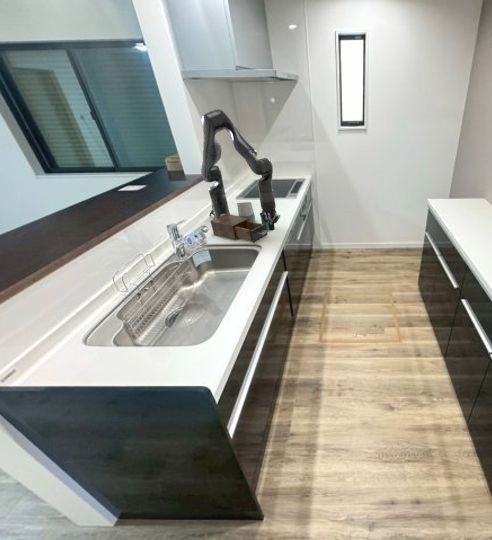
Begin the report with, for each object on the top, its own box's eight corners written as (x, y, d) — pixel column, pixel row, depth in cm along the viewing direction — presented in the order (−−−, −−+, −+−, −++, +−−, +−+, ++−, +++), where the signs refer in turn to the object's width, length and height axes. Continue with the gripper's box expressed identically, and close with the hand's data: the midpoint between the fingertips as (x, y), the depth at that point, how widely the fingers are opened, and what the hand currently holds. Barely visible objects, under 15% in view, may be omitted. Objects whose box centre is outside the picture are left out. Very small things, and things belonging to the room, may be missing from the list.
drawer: (273, 236, 167) (271, 224, 163) (259, 244, 158) (257, 232, 155) (246, 230, 175) (244, 219, 172) (231, 237, 167) (229, 226, 163)
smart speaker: (256, 219, 193) (252, 197, 185) (254, 224, 185) (250, 202, 178) (241, 220, 192) (236, 199, 184) (239, 225, 184) (234, 203, 177)
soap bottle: (261, 230, 177) (258, 210, 170) (266, 227, 180) (263, 208, 174) (267, 231, 175) (263, 212, 169) (272, 228, 178) (269, 209, 172)
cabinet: (251, 232, 175) (249, 218, 170) (235, 240, 165) (232, 225, 161) (230, 227, 182) (227, 213, 178) (213, 234, 173) (210, 220, 168)
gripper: (252, 199, 154) (258, 230, 163) (272, 203, 148) (277, 234, 157) (262, 195, 159) (267, 225, 168) (281, 198, 154) (285, 229, 163)
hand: (272, 230), depth 163 cm, fingers closed
